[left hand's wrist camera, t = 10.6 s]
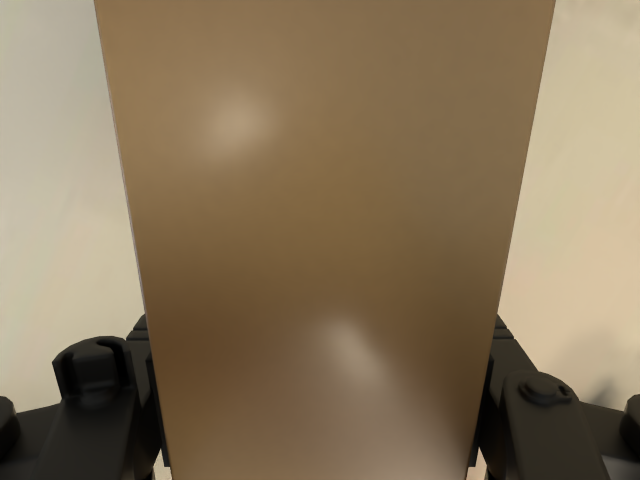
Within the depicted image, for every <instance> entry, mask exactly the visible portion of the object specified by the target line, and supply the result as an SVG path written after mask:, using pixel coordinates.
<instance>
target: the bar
mask: <svg viewBox="0 0 640 480" xmlns="http://www.w3.org/2000/svg"><path fill="white" fill-rule="evenodd" d="M555 2H556V0H94V5H95V11H96V17H97V23H98V29H99V35H100V41H101V47H102V53H103V60H104V66H105V72H106V78H107V84H108V90H109V96H110V102H111V108H112V115H113V121H114V127H115V133H116V139H117V145H118V151H119V157H120V163H121V169H122V176H123V182H124V188H125V194H126V200H127V206H128V212H129V218H130V224H131V231H132V237H133V243H134V249H135V255H136V261H137V267H138V273H139V279H140V286H141V292H142V298H143V304H144V310H145V316H146V322H147V328H148V334H149V340H150V347H151V353H152V359H153V365H154V371H155V377H156V383H157V389H158V395H159V402H160V408H161V414H162V420H163V426H164V432H165V438H166V444H167V450H168V456H169V463H170V469H171V475H172V480H466V477H467V472H468V467H469V461H470V456H471V451H472V445H473V440H474V435H475V429H476V424H477V419H478V413H479V408H480V402H481V397H482V392H483V386H484V381H485V376H486V370H487V365H488V360H489V354H490V349H491V344H492V338H493V333H494V328H495V322H496V317H497V312H498V306H499V301H500V296H501V290H502V285H503V280H504V274H505V269H506V264H507V258H508V253H509V248H510V242H511V237H512V232H513V226H514V221H515V216H516V210H517V205H518V200H519V194H520V189H521V183H522V178H523V173H524V167H525V162H526V157H527V151H528V146H529V141H530V135H531V130H532V125H533V119H534V114H535V109H536V103H537V98H538V93H539V87H540V82H541V77H542V71H543V66H544V61H545V55H546V50H547V45H548V39H549V34H550V29H551V23H552V18H553V13H554V7H555Z"/></svg>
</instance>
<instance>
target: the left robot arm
mask: <svg viewBox="0 0 640 480" xmlns="http://www.w3.org/2000/svg"><path fill="white" fill-rule="evenodd" d="M52 365H53V368H54V372H55V376H56V379H57V383H58V386H59V390H60V393H61V397H62V400H61V402H60V403H59V404H55V405H52V406H48V407H43V408H39V409H34V410H30V411H25V412H20V413H16V411H15V408H14V405H13V402H12V401H10V400H9V399H8V398H7V397H3V396H0V480H155V473H154V468H153V466H154V463H155V461H156V458H157V456H158V454H159V451H160V449H161V451H162V456H163V462H164V467H170V463H169V456H168V450H167V444H166V438H165V432H164V426H163V420H162V414H161V408H160V402H159V395H158V389H157V383H156V377H155V371H154V365H153V359H152V353H151V347H150V340H149V334H148V328H147V322H146V316H145V314H144V315H143V316H141V318H140V319H139V321H138V322H137V323H136V325H135V326H134V328H133V331H131V332H130V333H129V335H128V336H127V338H126V341H125V340H124V339H123V338H119V337H115V336H99V337H94V338H90V339H85V340H83V341H80V342H78V343H75V344H73V345H71V346H69V347H68V348H66V349H65V350H63V351H62V352H60V353H59V354H58V355H57V356H56V358H55V359H54V360H53V361H52ZM479 447H480V450H481V452H482V455H483V457H484V459H485V462H486V464H487V468H486V473H485V479H484V480H640V394H638V395H634V396H632V397H631V398H630V399H629V400H628V401H627V404H626V407H625V410H624V412H623V411H619V410H614V409H610V408H605V407H600V406H596V405H591V404H588V403H584V402H581V401H579V399H578V397H577V396H576V394H575V393H574V391H573V390H572V389H571V388H570V387H569V386H568V385H566V384H565V383H564V382H563V381H561V380H559V379H557V378H555V377H553V376H551V375H549V374H546V373H543V372H539V371H538V370H537V369H536V367H535V366H534V364H533V363H532V362H531V360H530V359H529V357H528V356H527V355H526V353H525V352H524V350H523V349H522V347H521V346H520V345H519V343H518V342H517V340H516V339H514V336H513V335H512V333H511V332H510V331H509V329H507V326H506V325H505V324H504V322H503V321H502V319H501V318H500V317H499V315H498V314H497V317H496V322H495V328H494V333H493V338H492V344H491V349H490V354H489V360H488V365H487V370H486V376H485V381H484V386H483V392H482V397H481V402H480V408H479V413H478V419H477V424H476V429H475V435H474V440H473V445H472V451H471V456H470V461H469V467H475V466H476V460H477V455H478V449H479Z"/></svg>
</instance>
